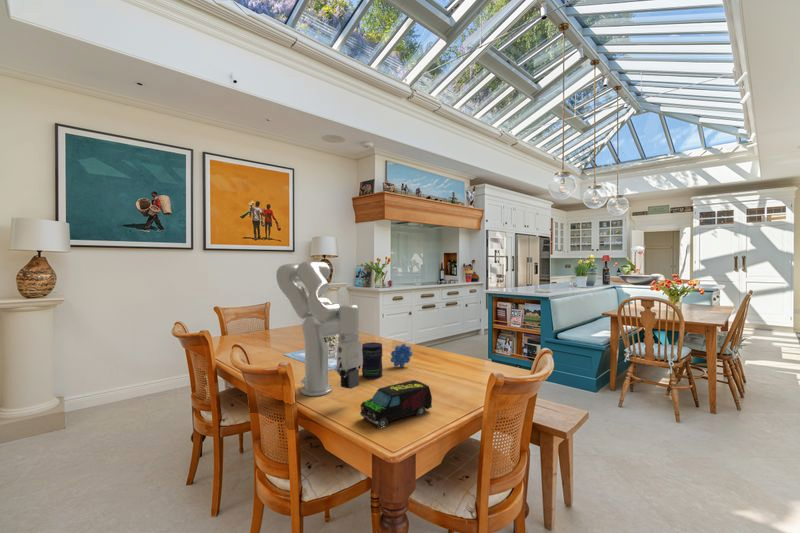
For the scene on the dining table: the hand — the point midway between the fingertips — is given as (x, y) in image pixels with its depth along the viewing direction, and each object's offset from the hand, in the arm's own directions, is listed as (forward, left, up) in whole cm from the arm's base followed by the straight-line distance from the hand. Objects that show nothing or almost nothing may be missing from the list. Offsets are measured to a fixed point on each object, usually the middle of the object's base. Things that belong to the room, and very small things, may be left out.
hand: (349, 384), depth 135 cm
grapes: (-13, +53, -8) cm, 55 cm away
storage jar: (-15, +32, -8) cm, 36 cm away
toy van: (+20, +3, -8) cm, 22 cm away
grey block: (0, 0, 0) cm, 0 cm away
